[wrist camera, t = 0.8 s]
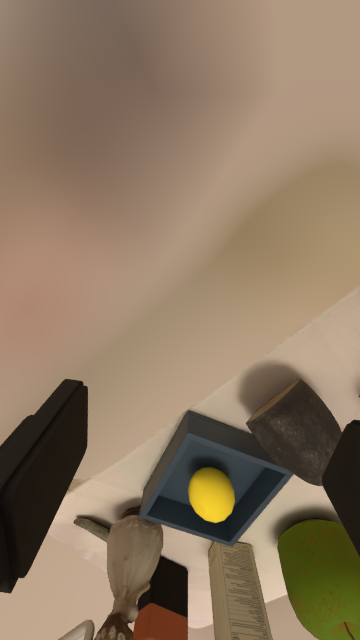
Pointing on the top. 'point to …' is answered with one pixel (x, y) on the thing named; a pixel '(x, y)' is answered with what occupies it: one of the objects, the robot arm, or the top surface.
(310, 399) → the stone
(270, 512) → the top surface
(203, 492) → the lemon
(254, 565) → the cosmetic box
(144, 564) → the figurine
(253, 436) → the bin
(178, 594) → the battery
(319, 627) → the apple
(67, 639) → the bracket
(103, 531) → the stone
